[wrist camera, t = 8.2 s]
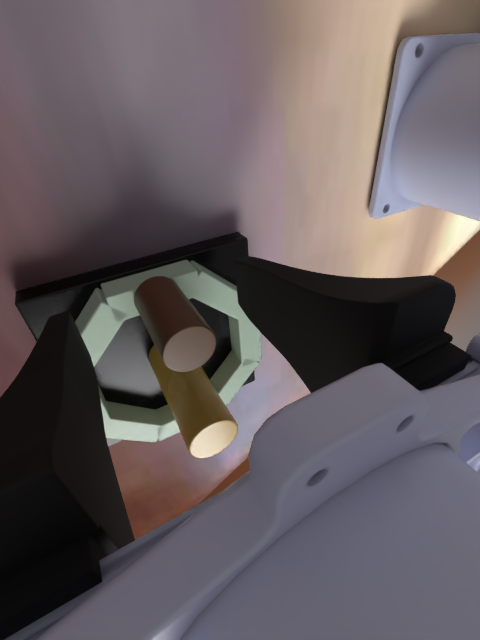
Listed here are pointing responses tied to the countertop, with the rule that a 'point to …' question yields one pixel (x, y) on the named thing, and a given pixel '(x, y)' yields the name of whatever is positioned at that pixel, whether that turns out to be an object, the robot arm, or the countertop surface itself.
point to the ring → (169, 337)
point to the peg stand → (140, 352)
